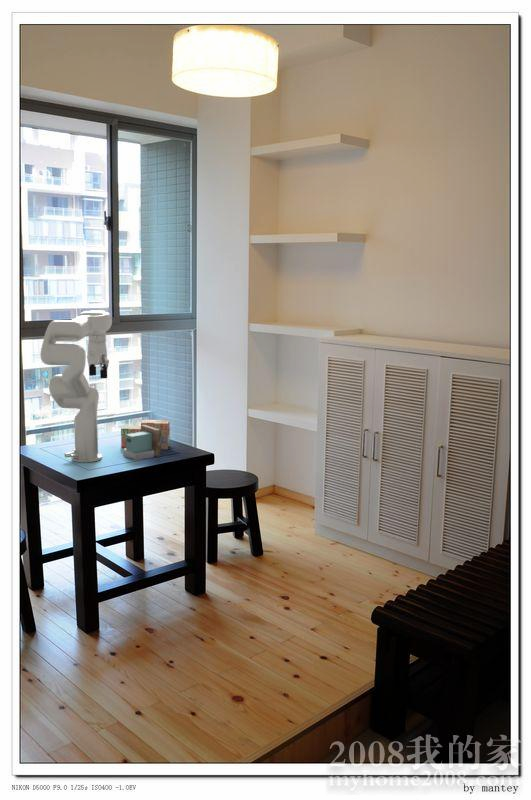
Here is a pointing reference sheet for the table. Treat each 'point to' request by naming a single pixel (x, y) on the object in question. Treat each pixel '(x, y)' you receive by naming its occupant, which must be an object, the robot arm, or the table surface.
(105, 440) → the table surface
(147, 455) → the wooden bookend
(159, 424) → the stack of blocks
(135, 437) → the teal cabinet
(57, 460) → the table surface
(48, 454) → the table surface
